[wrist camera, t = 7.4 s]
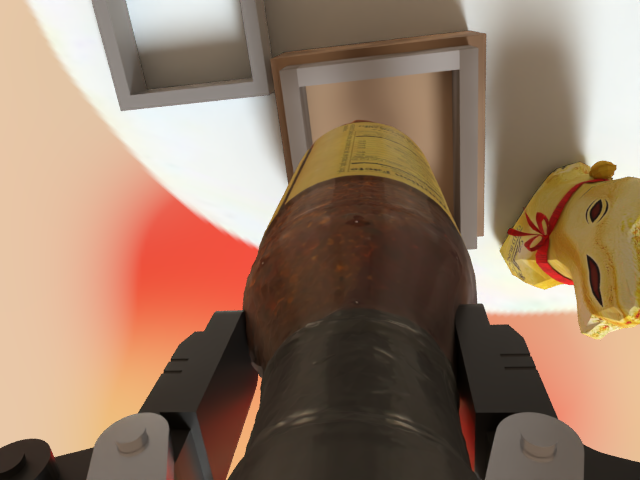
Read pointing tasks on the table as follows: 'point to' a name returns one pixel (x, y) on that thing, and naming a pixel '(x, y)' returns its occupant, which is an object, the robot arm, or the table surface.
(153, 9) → the table surface
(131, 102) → the low holder
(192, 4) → the table surface
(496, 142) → the table surface
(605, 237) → the chocolate bunny
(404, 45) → the walnut dock
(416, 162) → the sauce bottle
